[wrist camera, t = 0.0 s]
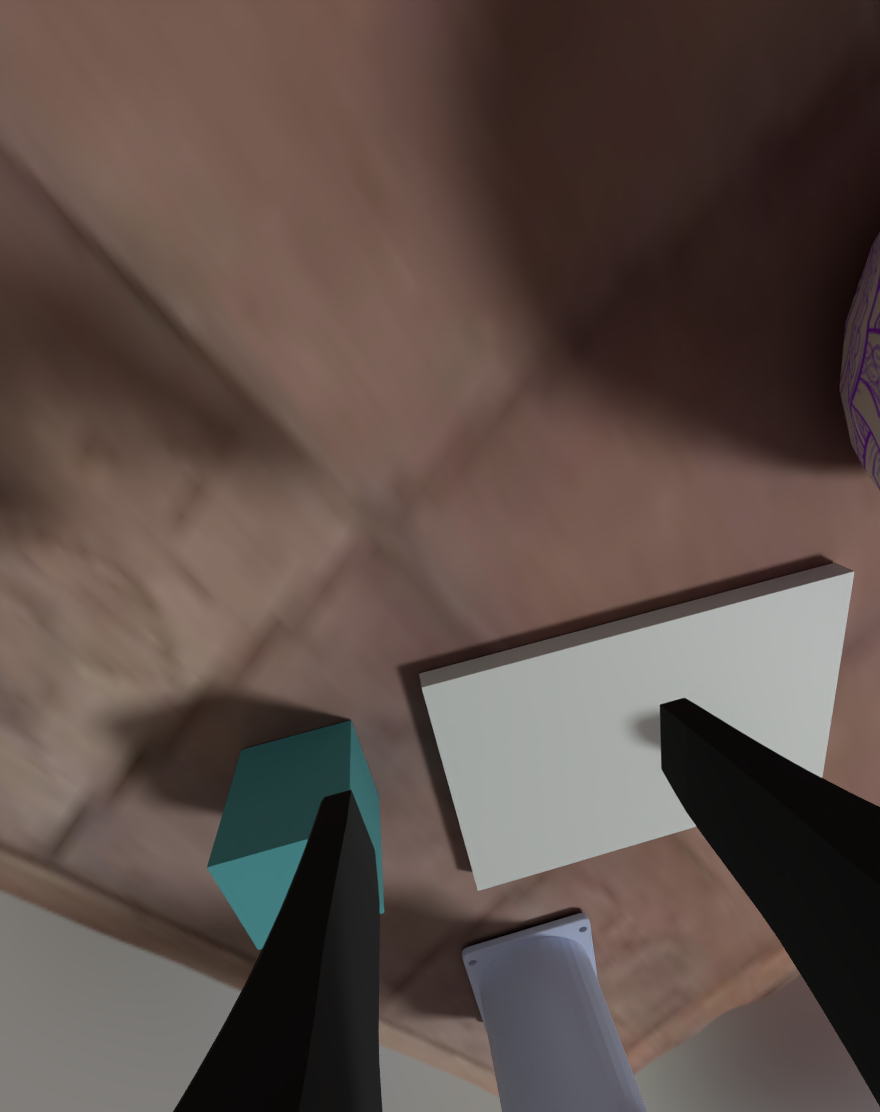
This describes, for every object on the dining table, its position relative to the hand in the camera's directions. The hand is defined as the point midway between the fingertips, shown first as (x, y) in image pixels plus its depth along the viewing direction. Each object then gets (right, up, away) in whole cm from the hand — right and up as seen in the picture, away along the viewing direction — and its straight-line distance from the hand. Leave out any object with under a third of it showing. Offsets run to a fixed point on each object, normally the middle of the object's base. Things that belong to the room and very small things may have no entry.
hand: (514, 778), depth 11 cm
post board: (+8, -4, +14) cm, 17 cm away
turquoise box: (-8, -5, +12) cm, 15 cm away
